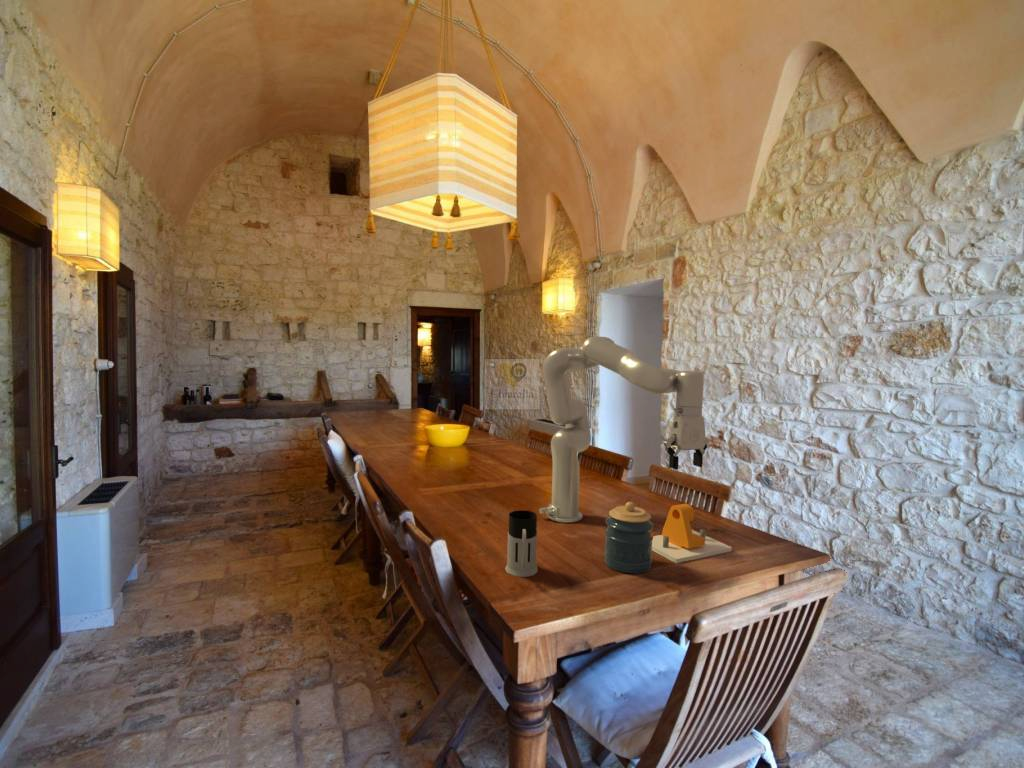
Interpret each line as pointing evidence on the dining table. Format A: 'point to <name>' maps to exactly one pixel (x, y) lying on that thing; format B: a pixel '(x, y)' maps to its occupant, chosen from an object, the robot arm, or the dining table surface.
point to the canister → (629, 539)
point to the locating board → (684, 554)
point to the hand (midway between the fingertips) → (685, 467)
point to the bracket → (681, 527)
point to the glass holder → (522, 543)
